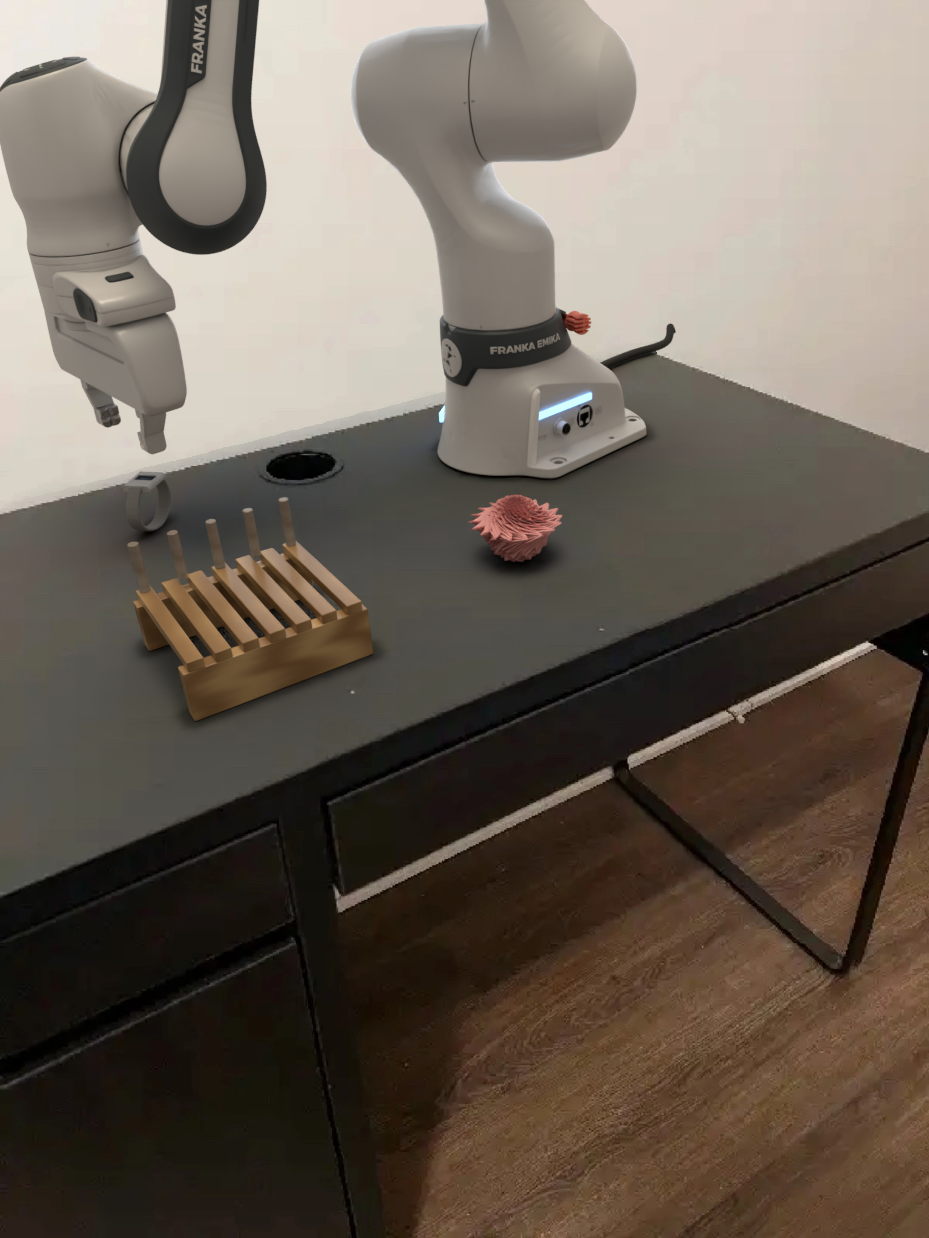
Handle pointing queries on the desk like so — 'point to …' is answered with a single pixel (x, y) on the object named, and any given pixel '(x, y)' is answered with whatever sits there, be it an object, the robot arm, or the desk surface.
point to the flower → (516, 526)
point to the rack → (250, 595)
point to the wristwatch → (145, 484)
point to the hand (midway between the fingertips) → (131, 437)
